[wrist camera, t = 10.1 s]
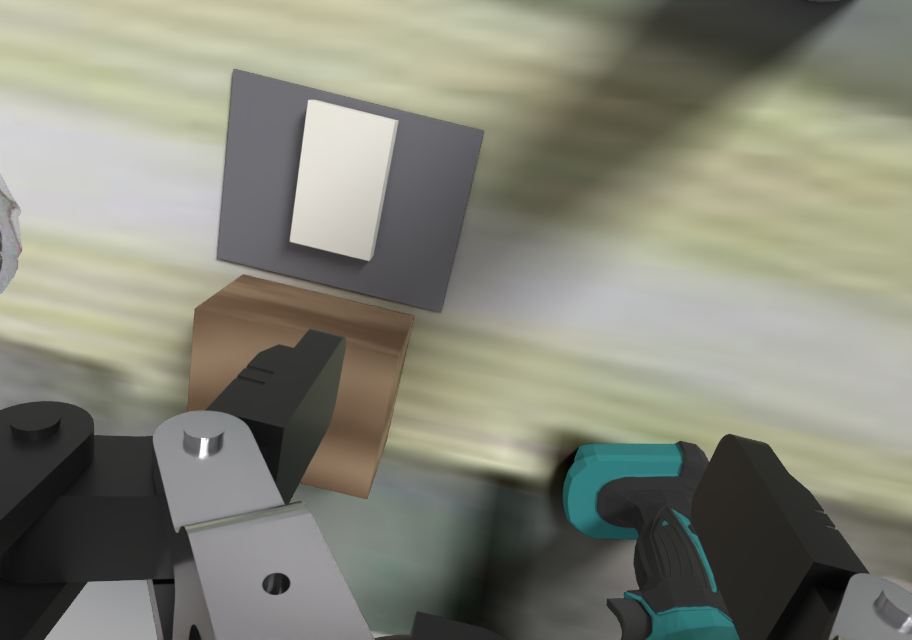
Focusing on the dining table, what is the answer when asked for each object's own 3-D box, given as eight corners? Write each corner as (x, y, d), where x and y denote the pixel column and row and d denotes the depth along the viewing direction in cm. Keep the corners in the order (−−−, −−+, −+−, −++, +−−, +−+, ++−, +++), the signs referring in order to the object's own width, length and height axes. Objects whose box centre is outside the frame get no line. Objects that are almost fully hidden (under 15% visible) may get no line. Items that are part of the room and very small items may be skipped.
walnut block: (243, 274, 47) (194, 308, 40) (414, 316, 48) (397, 357, 40) (229, 403, 52) (184, 455, 44) (386, 440, 52) (367, 499, 45)
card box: (289, 241, 44) (298, 235, 46) (369, 261, 44) (374, 254, 46) (308, 99, 40) (316, 99, 42) (395, 121, 40) (399, 120, 42)
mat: (235, 69, 42) (233, 68, 42) (484, 130, 42) (484, 131, 42) (219, 256, 47) (217, 258, 47) (441, 310, 47) (440, 312, 47)
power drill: (463, 523, 55) (435, 845, 31) (460, 438, 51) (426, 726, 28) (760, 529, 53) (965, 879, 29) (776, 441, 49) (1020, 755, 26)
